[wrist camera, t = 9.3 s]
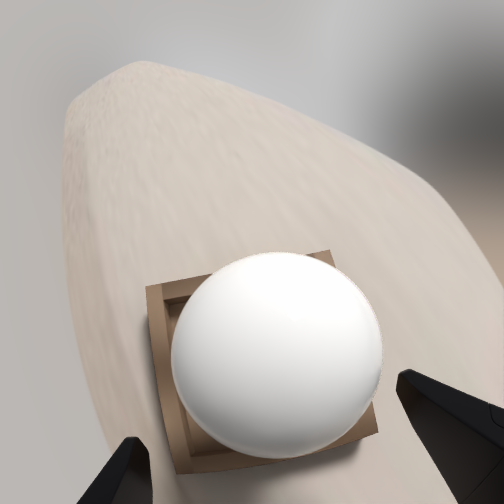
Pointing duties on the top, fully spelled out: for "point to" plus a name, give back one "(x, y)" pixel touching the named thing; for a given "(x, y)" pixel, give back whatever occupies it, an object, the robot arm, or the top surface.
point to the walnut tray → (174, 413)
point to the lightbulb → (277, 355)
